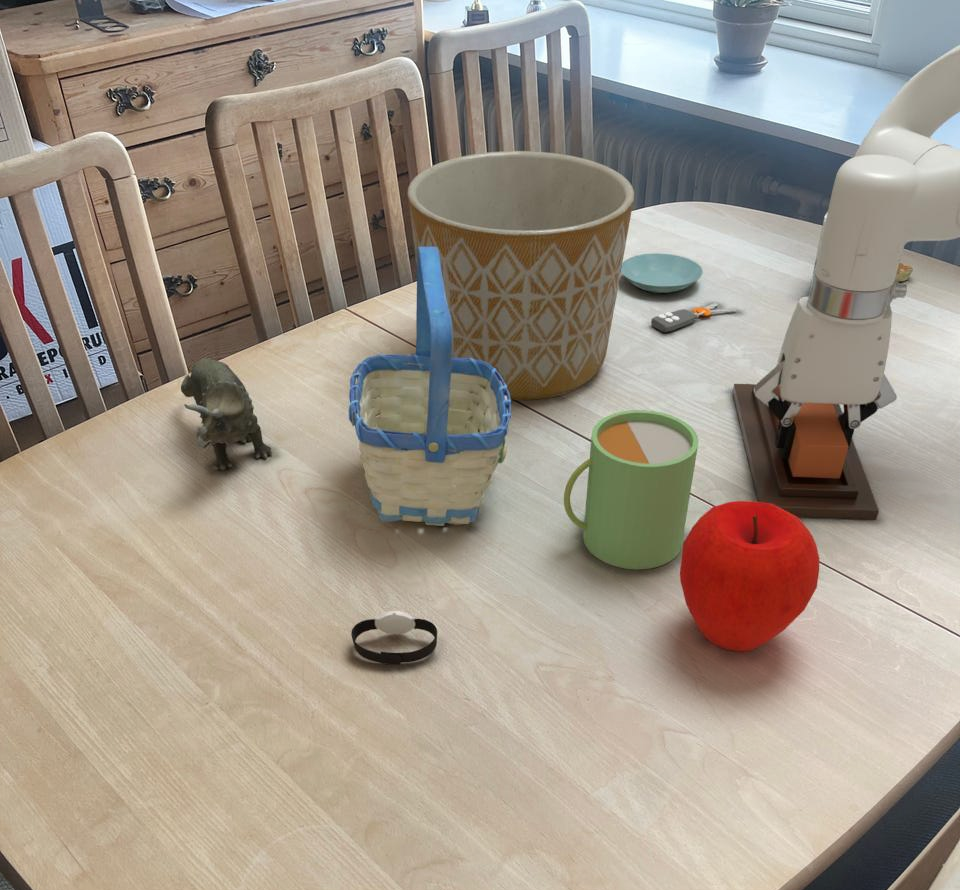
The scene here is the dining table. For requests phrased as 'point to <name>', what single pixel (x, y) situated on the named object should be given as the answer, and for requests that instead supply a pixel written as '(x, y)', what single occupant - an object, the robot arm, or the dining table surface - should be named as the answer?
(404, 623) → the watch
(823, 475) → the block
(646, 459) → the mug
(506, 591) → the dining table surface
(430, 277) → the basket
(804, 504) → the board
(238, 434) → the toy dinosaur
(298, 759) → the dining table surface
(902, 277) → the piece of bread
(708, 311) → the key chain
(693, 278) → the saucer
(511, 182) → the planter
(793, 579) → the apple
